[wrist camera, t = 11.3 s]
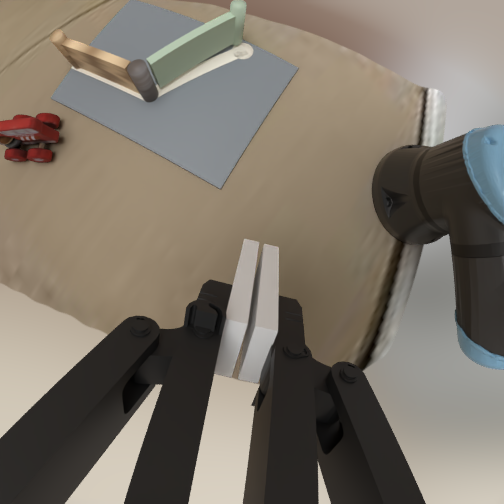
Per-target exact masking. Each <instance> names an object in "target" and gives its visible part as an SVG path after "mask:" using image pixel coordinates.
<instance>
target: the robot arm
mask: <svg viewBox="0 0 504 504" xmlns="http://www.w3.org/2000/svg"><path fill="white" fill-rule="evenodd" d="M372 194H373V202H374V206H375V209H376V212H377V215H378V217H379V219H380V221H381V222H382V224H383V226H384V227H385V228H386V229H387V231H388V232H389V233H390V234H391V235H393V236H394V237H395V238H397V239H398V240H400V241H402V242H405V243H409V244H428V243H432V242H435V241H437V240H438V239H440V238H441V237H443V236H445V235H447V234H449V236H450V244H451V251H452V261H453V271H454V282H455V295H456V310H455V321H456V324H457V334H458V342H459V345H460V347H461V349H462V351H463V352H464V354H465V355H466V356H467V357H468V358H469V359H471V360H472V361H474V362H475V363H477V364H479V365H482V366H484V367H488V368H492V369H499V370H503V369H504V125H492V126H488V127H484V128H475V129H473V130H471V131H469V132H468V133H466V134H464V135H462V136H459V137H456V138H454V139H452V140H449V141H447V142H444V143H441V144H439V145H436V146H434V147H428V146H420V145H406V146H402V147H399V148H397V149H395V150H393V151H391V152H390V153H388V154H387V155H386V156H385V157H384V158H383V159H382V160H381V161H380V163H379V165H378V166H377V169H376V171H375V174H374V178H373V185H372ZM258 247H259V242H256V241H252V240H248V239H244V242H243V246H242V250H241V254H240V258H239V262H238V266H237V270H236V274H235V278H234V282H233V285H230V284H226V283H222V282H218V281H214V280H209V281H207V282H206V283H205V284H203V286H202V288H201V291H200V293H199V296H198V299H197V300H196V301H193V302H191V303H189V305H188V306H187V307H186V314H185V321H184V326H182V327H180V328H176V329H159V326H158V324H157V323H156V322H155V321H154V320H152V319H151V318H148V317H145V316H133V317H129V318H127V319H126V320H124V321H123V322H122V323H121V324H120V325H118V326H117V327H116V328H115V329H114V330H113V331H112V332H111V333H110V334H109V335H108V336H106V337H105V338H104V339H103V340H102V341H101V342H100V343H99V344H98V345H97V346H96V347H95V348H94V349H92V350H91V351H90V352H89V353H88V354H87V355H86V356H85V357H84V358H83V359H82V360H81V361H80V362H78V363H77V364H76V366H74V367H73V368H72V369H71V370H70V371H69V372H68V373H67V374H66V375H65V376H64V377H63V378H62V379H60V380H59V381H58V382H57V383H56V384H55V385H54V386H53V387H52V388H51V389H50V390H49V391H48V392H47V393H46V394H45V395H44V396H43V397H42V398H41V399H40V400H39V401H38V402H37V403H36V404H35V405H34V406H33V407H32V408H31V409H29V410H28V412H27V413H25V415H23V416H22V417H21V418H20V420H19V421H17V422H16V423H15V424H14V425H13V426H12V427H11V428H10V429H9V430H8V431H7V433H5V434H4V435H3V436H2V437H1V438H0V504H65V502H66V501H67V500H68V498H69V497H70V496H71V495H72V493H73V492H74V491H75V489H76V488H77V487H78V486H79V484H80V483H81V482H82V480H83V479H84V478H85V477H86V475H87V474H88V473H89V471H90V470H91V469H92V468H93V466H94V465H95V464H96V462H97V461H98V460H99V458H100V457H101V456H102V454H103V453H104V452H105V451H106V449H107V448H108V447H109V445H110V444H111V443H112V442H113V440H114V439H115V438H116V436H117V435H118V434H119V433H120V431H121V430H122V428H123V427H124V426H125V425H126V423H127V422H128V421H129V419H130V418H131V417H132V416H133V414H134V413H135V412H136V410H137V409H138V408H139V407H140V405H141V404H142V402H143V401H144V400H145V399H146V397H147V396H148V395H149V393H150V392H151V391H152V389H153V388H154V387H155V385H156V384H162V388H161V391H160V394H159V397H158V399H157V402H156V405H155V409H154V411H153V414H152V417H151V420H150V423H149V426H148V429H147V432H146V435H145V438H144V441H143V444H142V447H141V451H140V454H139V457H138V460H137V463H136V466H135V469H134V472H133V476H132V479H131V482H130V485H129V488H128V492H127V495H126V498H125V502H124V504H188V502H189V496H190V491H191V486H192V481H193V476H194V471H195V466H196V461H197V455H198V451H199V445H200V440H201V435H202V430H203V425H204V420H205V415H206V411H207V406H208V401H209V396H210V391H211V386H212V381H213V376H214V374H218V375H222V376H226V377H230V378H231V377H232V374H233V370H234V367H235V364H236V361H237V358H238V354H239V351H240V348H241V344H242V341H243V338H244V342H243V349H242V355H241V362H240V369H239V375H238V379H239V380H244V381H248V382H253V383H258V381H259V379H260V386H259V388H258V391H257V393H256V396H255V398H254V400H253V403H252V406H255V410H254V418H253V426H252V427H253V428H252V435H251V443H250V451H249V460H248V468H247V476H246V483H245V491H244V499H243V504H318V462H319V465H320V469H321V472H322V475H323V479H324V482H325V485H326V488H327V492H328V495H329V498H330V501H331V504H426V503H425V501H424V499H423V496H422V494H421V492H420V490H419V487H418V485H417V483H416V481H415V478H414V476H413V474H412V472H411V470H410V467H409V465H408V463H407V461H406V459H405V456H404V454H403V452H402V450H401V448H400V446H399V444H398V442H397V439H396V437H395V435H394V433H393V431H392V429H391V427H390V425H389V423H388V421H387V419H386V417H385V414H384V412H383V410H382V408H381V406H380V405H379V402H378V400H377V398H376V396H375V394H374V392H373V390H372V388H371V386H370V384H369V382H368V380H367V378H366V376H365V374H364V373H363V372H362V370H361V369H360V368H358V367H357V366H356V365H354V364H352V363H349V362H338V363H336V364H334V365H333V366H332V368H331V367H329V366H326V365H324V364H322V363H320V362H318V361H316V360H315V359H313V358H312V354H311V351H310V350H309V348H308V347H307V346H306V345H305V338H304V326H303V317H302V316H303V315H302V307H301V306H300V304H299V303H298V301H297V300H296V299H291V298H287V297H283V296H279V247H276V246H272V245H268V244H264V246H263V249H262V253H261V257H260V260H259V264H258V267H257V271H256V274H255V269H256V262H257V255H258ZM254 276H255V278H254ZM260 376H261V378H260ZM317 459H318V460H317Z"/></svg>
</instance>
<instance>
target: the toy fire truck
mask: <svg viewBox="0 0 504 504" xmlns="http://www.w3.org/2000/svg"><path fill="white" fill-rule="evenodd" d="M59 122H60V118H59V117H58V116H57V115H54V114H51V113H40V114H38V115H37V116H36V118H34V117H31V116H27V115H16V116H14V117H13V120H5V121H0V144H1V145H5V146H6V147H8V148H9V149H6V151H5V156H4V157H5V159H6V160H10V161H18V162H22V161H26V159H28V160H30V161H34V162H50V161H51V158H52V151H51V150H48V149H44V147H45V144H48V143H57V142H58V139H59V132H58V131H56V130H54V129H56V128H58V126H59ZM25 144H39V147H38V148H31V149H29V150H28V152H27V151H26V150H22V149H20V148H21V145H25Z"/></svg>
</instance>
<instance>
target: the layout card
mask: <svg viewBox="0 0 504 504" xmlns="http://www.w3.org/2000/svg"><path fill="white" fill-rule="evenodd" d="M204 24H205V23H203V22H200V21H197V20H195V19H192V18H189V17H187V16H184V15H181V14H178V13H175V12H172V11H169V10H166V9H163V8H160V7H157V6H154V5H151V4H147V3H144V2H140V1H137V0H130V1H129V2H128V3H127V4H126V5H125V6H124V7H123V8H122V9H121V10H120V11H119V12H118V13H117V14H116V15H115V16H114V17H113V18H112V20H111V21H110V22H109V23H108V24H107V25H106V26H105V27H104V28H103V30H102V31H101V32H100V33H99V34H98V35H97V37H96V38H95V39H94V40H93V41H92V43H91V44H90V45H89V46H92V47H94V48H97V49H100V50H103V51H105V52H108V53H111V54H113V55H116V56H118V57H121V58H123V59H126V60H128V61H131V62H132V61H134V60H137V59H141V60H144V61H145V62H146V65H147V67H148V69H149V72H150V74H151V76H152V78H153V81H154V83H155V85H156V87H157V90H158V92H159V95H158V97H157V99H156V100H155V101H153V102H146V101H144V100H143V98H142V96H141V94H138V93H136V92H134V91H132V90H130V89H128V88H125V87H123V86H121V85H119V84H117V83H114V82H112V81H110V80H108V79H105V78H103V77H101V76H98V75H96V74H94V73H91V72H89V71H86V70H84V69H81V68H80V69H75V68H74V67H73V66H72V68H71V69H70V71H69V72H68V74H67V75H66V76H65V78H64V79H63V81H62V82H61V83H60V85H59V86H58V88H57V89H56V91H55V92H54V94H53V95H52V97H51V99H53V100H55V101H57V102H59V103H61V104H63V105H65V106H67V107H69V108H71V109H73V110H75V111H77V112H79V113H81V114H83V115H85V116H87V117H88V118H90V119H92V120H94V121H96V122H98V123H100V124H102V125H104V126H106V127H108V128H110V129H112V130H113V131H115V132H117V133H119V134H121V135H123V136H125V137H127V138H129V139H130V140H132V141H134V142H136V143H138V144H140V145H142V146H143V147H145V148H147V149H149V150H151V151H153V152H154V153H156V154H158V155H160V156H162V157H164V158H165V159H167V160H169V161H171V162H173V163H174V164H176V165H178V166H180V167H182V168H183V169H185V170H187V171H189V172H191V173H192V174H194V175H196V176H198V177H199V178H201V179H203V180H205V181H207V182H208V183H210V184H212V185H214V186H215V187H217V188H219V189H221V188H222V186H223V184H224V183H225V181H226V180H227V178H228V176H229V175H230V173H231V171H232V170H233V168H234V166H235V165H236V163H237V162H238V160H239V158H240V157H241V155H242V154H243V152H244V150H245V149H246V147H247V146H248V144H249V143H250V141H251V139H252V138H253V136H254V135H255V133H256V132H257V130H258V128H259V127H260V125H261V124H262V122H263V121H264V119H265V118H266V116H267V115H268V113H269V112H270V110H271V109H272V107H273V105H274V104H275V102H276V101H277V99H278V98H279V96H280V95H281V94H282V92H283V91H284V89H285V88H286V86H287V85H288V83H289V82H290V80H291V79H292V77H293V76H294V74H295V73H296V72H297V70H298V67H296V66H294V65H292V64H290V63H288V62H287V61H285V60H283V59H281V58H279V57H277V56H275V55H273V54H271V53H269V52H267V51H265V50H263V49H261V48H259V47H257V46H255V45H253V44H251V43H249V42H247V41H245V40H243V39H242V43H241V44H240V45H230V46H228V47H226V48H224V49H223V50H221V51H219V52H217V53H216V54H214V55H212V56H210V57H209V58H207V59H205V60H204V61H202V62H200V63H199V64H197V65H195V66H194V67H192V68H191V69H189V70H187V71H186V72H184V73H183V74H181V75H179V76H178V77H176V78H175V79H173V80H172V81H170V82H169V83H167V84H166V85H164V86H163V87H161V88H160V87H159V85H158V84H157V83H156V81H155V79H154V76H153V74H152V72H151V69H150V67H149V65H148V62H147V60H146V59H147V58H148V57H150V56H151V55H153V54H154V53H156V52H157V51H159V50H161V49H162V48H164V47H165V46H167V45H169V44H170V43H172V42H174V41H175V40H177V39H179V38H180V37H182V36H184V35H186V34H187V33H189V32H191V31H193V30H194V29H196V28H198V27H200V26H202V25H204Z"/></svg>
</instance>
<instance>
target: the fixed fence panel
mask: <svg viewBox="0 0 504 504" xmlns="http://www.w3.org/2000/svg"><path fill="white" fill-rule="evenodd" d="M50 40H51V41H52V43H53V44H54V45H55V46H56V47H57V48H58V49H59V51H60V52H61V53H62V54H63V55H64V56H65V57H66V59H67V60H68V61H69V62H70V63H71V64H72V65H73V67H74V68H75V69H80V68H81V69H84V70H86V71H89V72H91V73H94V74H96V75H98V76H101V77H103V78H105V79H108V80H110V81H112V82H114V83H117V84H119V85H121V86H123V87H125V88H128V89H130V90H132V91H134V92H136V93H138V94H141V96H142V98H143V100H144V101H146V102H153V101H155V100H156V99H157V97H158V95H159V92H158V90H157V87H156V85H155V83H154V81H153V78H152V76H151V74H150V72H149V69H148V67H147V65H146V62H145V61H144V60H141V59H137V60H134V61H132V62H131V61H128V60H126V59H123V58H121V57H118V56H116V55H113V54H111V53H108V52H105V51H103V50H100V49H97V48H94V47H92V46H89V45H86V44H83V43H80V42H77V41H74V40H71V39H68V38H67V37H66V35H65V34H64V33H63V32H62V30H60V29H58V30H55V31H54V32H53V33H52V34H51V35H50Z"/></svg>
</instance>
